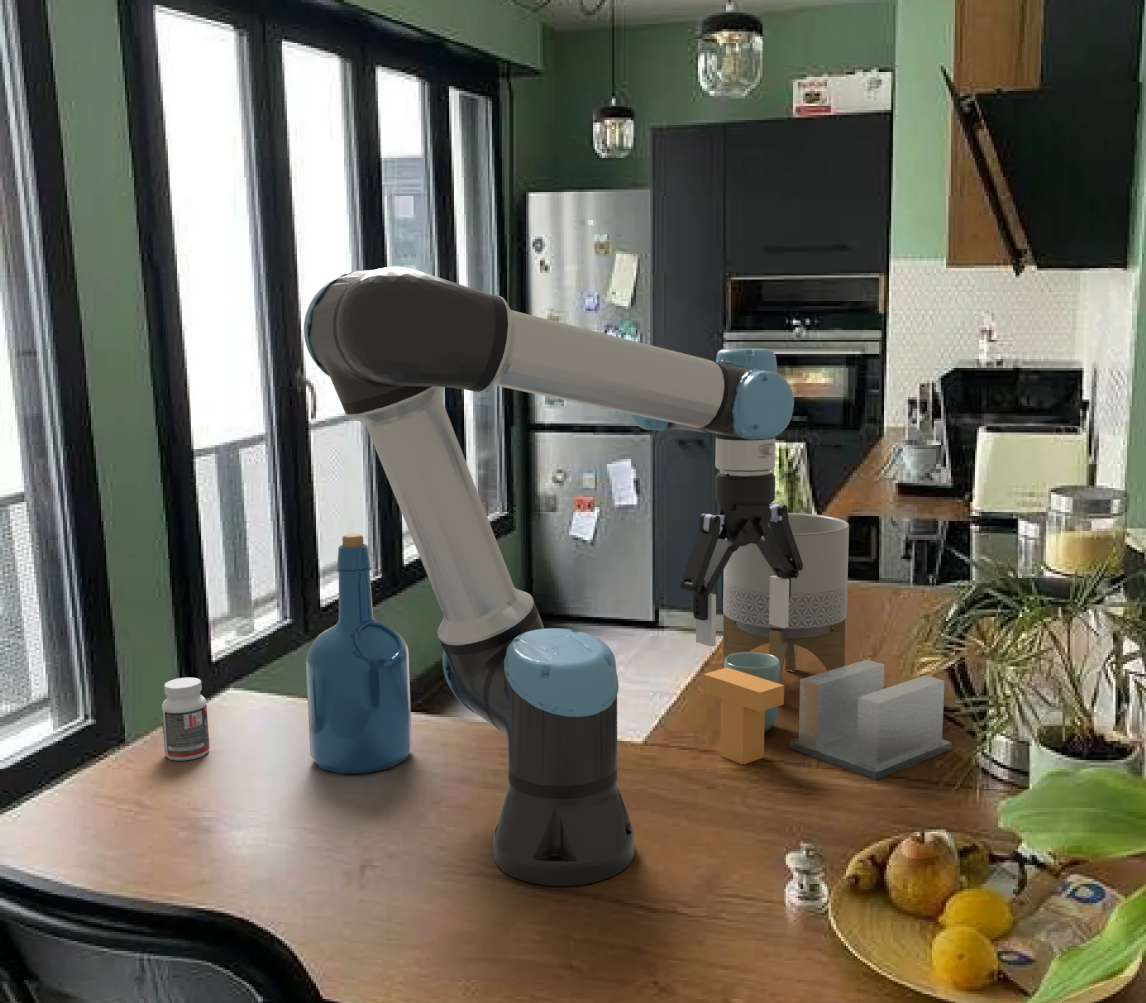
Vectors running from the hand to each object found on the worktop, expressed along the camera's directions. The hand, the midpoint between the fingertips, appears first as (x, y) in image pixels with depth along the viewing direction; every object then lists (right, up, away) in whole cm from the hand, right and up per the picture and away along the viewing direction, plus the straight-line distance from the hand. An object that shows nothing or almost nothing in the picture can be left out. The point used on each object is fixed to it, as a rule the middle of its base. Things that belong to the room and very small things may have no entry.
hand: (743, 634), depth 147 cm
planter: (+11, -12, +31) cm, 35 cm away
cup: (+3, -15, +13) cm, 20 cm away
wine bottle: (-50, -17, +3) cm, 53 cm away
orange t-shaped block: (0, -16, +2) cm, 17 cm away
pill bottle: (-74, -17, +6) cm, 76 cm away
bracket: (+18, -16, +4) cm, 24 cm away
